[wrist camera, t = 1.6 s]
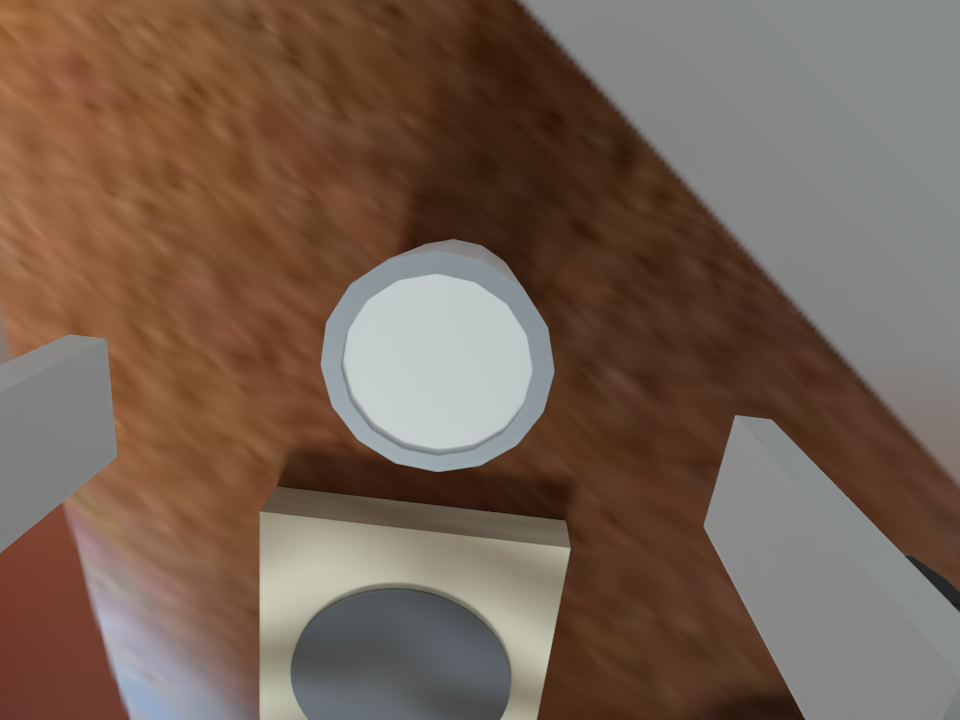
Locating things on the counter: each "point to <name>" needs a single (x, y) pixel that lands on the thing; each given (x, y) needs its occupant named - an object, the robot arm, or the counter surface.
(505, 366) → the shot glass
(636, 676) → the counter surface
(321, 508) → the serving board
